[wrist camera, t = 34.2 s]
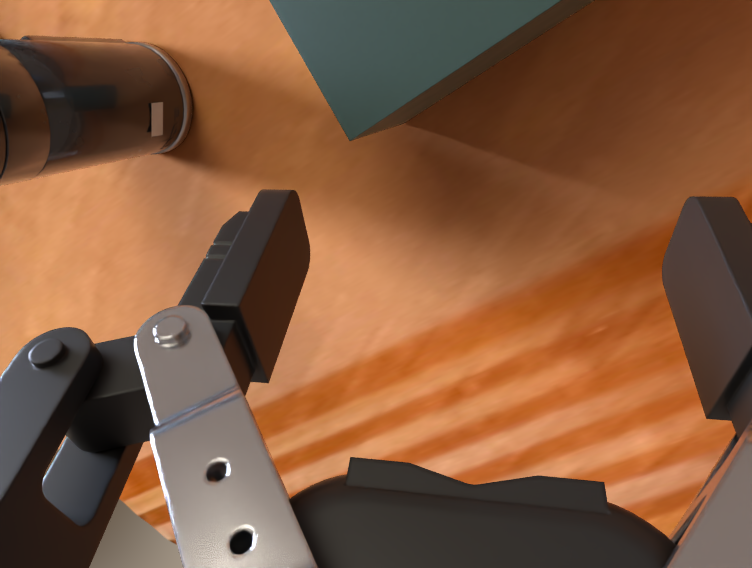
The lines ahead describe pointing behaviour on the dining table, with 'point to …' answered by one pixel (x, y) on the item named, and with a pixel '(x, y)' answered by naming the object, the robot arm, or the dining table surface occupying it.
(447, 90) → the cabinet
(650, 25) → the dining table surface
